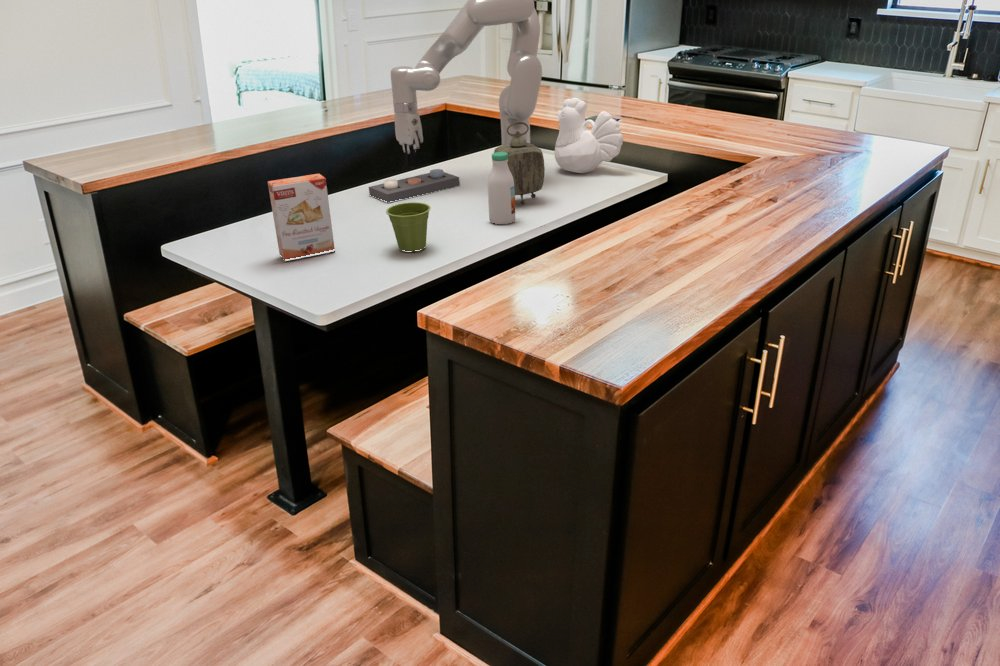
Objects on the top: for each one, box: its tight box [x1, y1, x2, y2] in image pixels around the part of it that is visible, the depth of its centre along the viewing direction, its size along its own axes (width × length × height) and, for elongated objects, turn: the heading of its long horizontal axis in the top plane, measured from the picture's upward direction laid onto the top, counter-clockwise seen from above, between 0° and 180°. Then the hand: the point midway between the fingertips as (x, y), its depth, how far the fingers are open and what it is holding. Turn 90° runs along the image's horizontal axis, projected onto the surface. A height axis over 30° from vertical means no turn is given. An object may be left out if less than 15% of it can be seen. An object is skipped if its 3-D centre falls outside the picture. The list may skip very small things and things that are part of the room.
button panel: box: [368, 171, 461, 202], centre depth 263 cm, size 12×28×3 cm, turn 128°
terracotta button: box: [408, 178, 421, 185], centre depth 263 cm, size 4×4×3 cm
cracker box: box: [267, 173, 336, 261], centre depth 208 cm, size 14×6×21 cm, turn 117°
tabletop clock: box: [493, 122, 546, 206], centre depth 241 cm, size 14×9×25 cm, turn 108°
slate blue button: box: [429, 168, 444, 179], centre depth 267 cm, size 4×4×3 cm
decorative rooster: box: [554, 97, 624, 174], centre depth 270 cm, size 25×16×25 cm, turn 43°
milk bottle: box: [487, 152, 516, 225], centre depth 227 cm, size 8×8×20 cm
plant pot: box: [385, 201, 432, 252], centre depth 211 cm, size 12×12×11 cm
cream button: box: [383, 179, 398, 190], centre depth 258 cm, size 4×4×3 cm
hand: (410, 164), depth 260 cm, fingers closed
